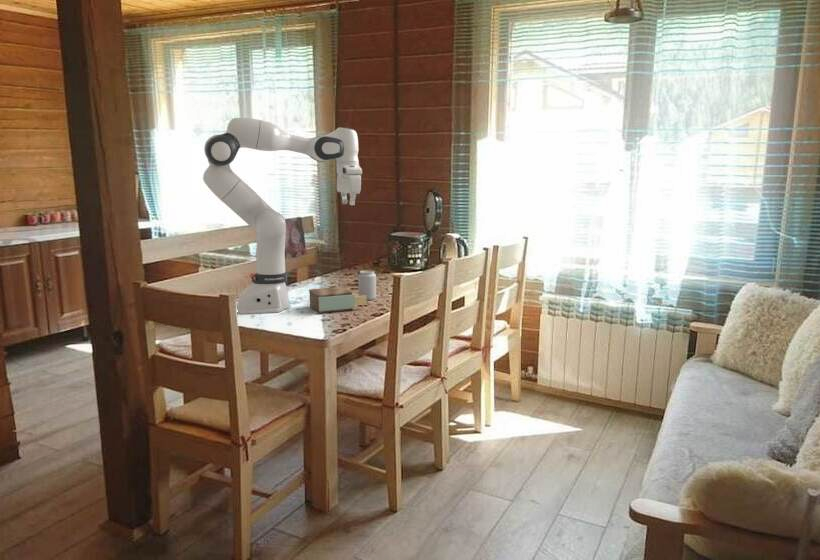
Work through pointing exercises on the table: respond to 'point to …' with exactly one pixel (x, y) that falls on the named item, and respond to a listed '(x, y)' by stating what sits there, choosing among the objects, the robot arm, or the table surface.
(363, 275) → the can
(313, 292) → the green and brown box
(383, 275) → the table surface
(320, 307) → the green yellow-tipped stick
